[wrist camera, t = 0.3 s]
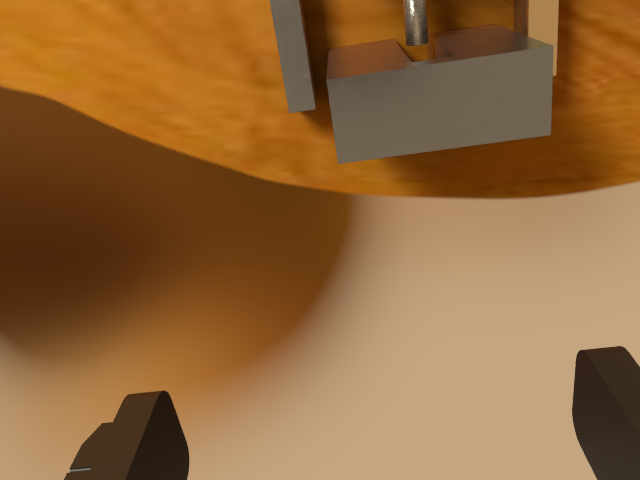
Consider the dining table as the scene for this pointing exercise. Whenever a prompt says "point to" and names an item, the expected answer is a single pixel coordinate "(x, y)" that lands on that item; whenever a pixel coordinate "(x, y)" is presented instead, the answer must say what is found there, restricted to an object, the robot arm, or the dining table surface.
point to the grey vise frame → (429, 84)
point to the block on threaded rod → (415, 22)
